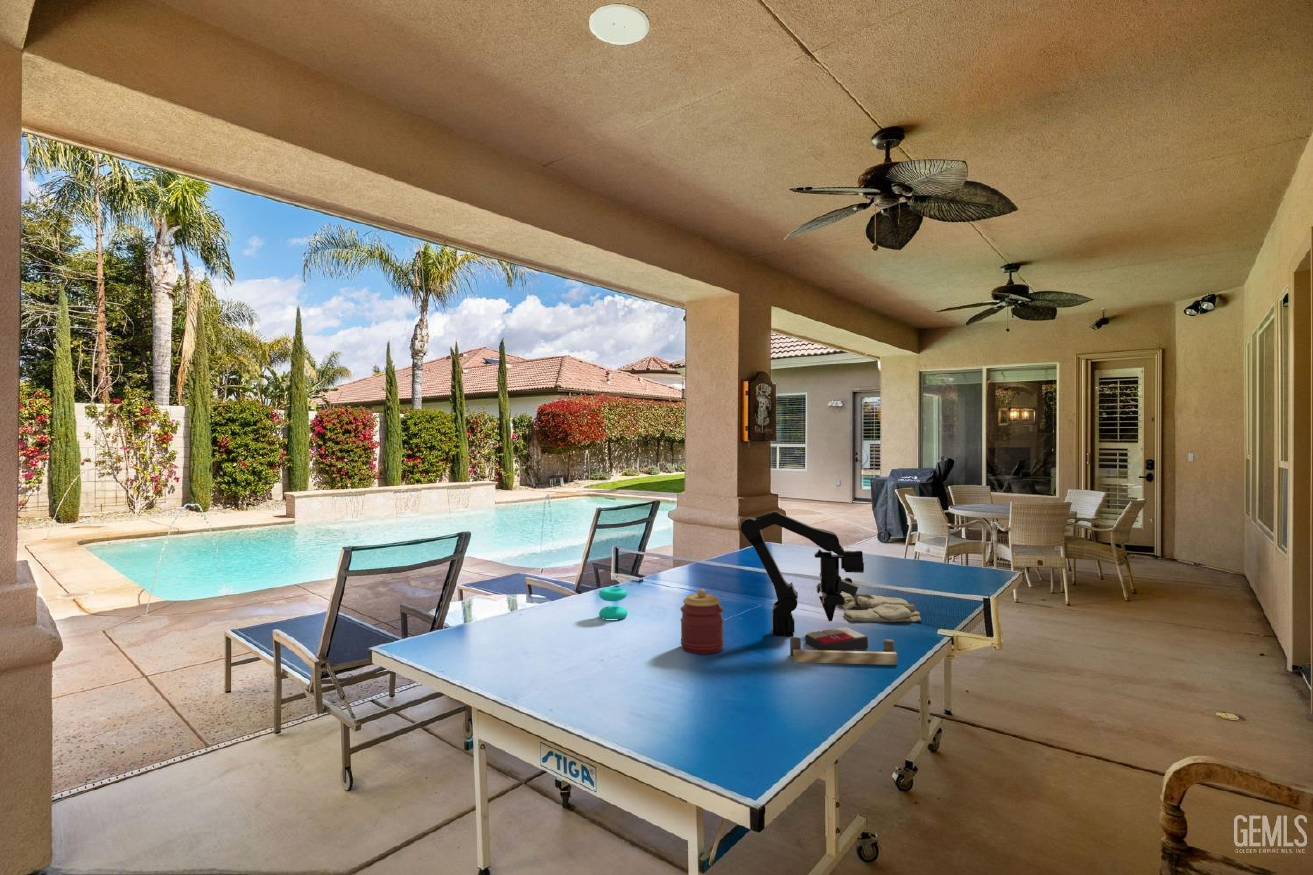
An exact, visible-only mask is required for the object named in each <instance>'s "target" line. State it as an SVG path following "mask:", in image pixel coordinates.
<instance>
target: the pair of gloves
mask: <svg viewBox="0 0 1313 875" xmlns="http://www.w3.org/2000/svg"><path fill="white" fill-rule="evenodd" d="M840 594H841V595H842V596H843V597H844V599H845V605H841V607H842V609H843V610H845V611H843V616H844V618H845V619H847V621H850V622H858V623H859V622H862V623H865V622H866V623H869V622H872V623H873V622H874V623H879V622H881V623H883V622H885V623H896V622H899V623H905V622H906V623H909V622H912V623H917V622H921V621H922V618H921V616H920V615H921V614H920V612H919V611H917V610H916V606H915V605H914V604H909V603H908V601H907V600H905V599H904V598H900V597H890V596H889V597H888V596H883V595H874V594H862V593H861V594H859V593H856V595H855V596H851V594H848V593H844V592H843V593H840ZM855 607H856V608H855ZM852 608H855V609H856V610H855V609H854V610H853V609H852ZM860 608H865V609H861V610H860ZM869 608H873V609H869ZM846 609H847V610H846ZM851 609H852V610H851ZM857 609H858V610H857Z"/></svg>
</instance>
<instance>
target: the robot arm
mask: <svg viewBox="0 0 1313 875" xmlns="http://www.w3.org/2000/svg"><path fill="white" fill-rule="evenodd" d="M775 525H777V526H778V527H781V528H783V529H785V530H787V531H789V532H792V533H794V534H797V535H799V536H801V537H803V538H806V539H807V540H809V541H811V542H812V543H813V544H815V545H816V546H818V547H820V548H821V549H822V550H824V551H822V550H821V549H820V548H819V549H818V550H817V552H814V555H813V556H814V558H816V559H819V558H820V560H819V561H820V563H819V564H820V573H819V578H820V582H819V583H818V584H817V585H816V594H820V593H821V596H820V595H819V596H818V598H819V600H820V603H821V605H822V608H823V610H824V613H825V615H826V618H827V621H828V622H833V619H834V616H835V611H836V607H837V606H842V605H845V599H844V597H843V596H842V595H841V594H840V593H842V592H843V593H844V594H847V595H849V594H851V596H855V595H856V594H858V593H857V592H858V589H859V586H858V585H857V584H856V583H853V579H852V578H850V577H845V578H844V579H843V578H842V577H841V576H840V567H841V570H843V571H844V573H853V574H854V573H856V574H857V573H859V574H863V573H864V572H865V561H864V555H863V550H845V549H844V547H842V546H841V544H840V540H839V536H838V535H837V534H836V533H835V532H833V531H832V530H827V529H823V528H817V527H814V526H810V525H808V524H806V523H804V522H801V521H800V520H797V519H795V518H792V517H790V516H788V515H785V514H782V513H781V512H779V511H778V510H772V511H771V512H769V513H765V514H762V515H759V516H756V517H753V516H748V517H746V518H744V520H743V521H742V523H741V525H740V531H741V533H742V534H743V535H744V537H745V538H746V540H747V541H748V542H749V543H750V545H752V547H753V548H754V550H755V552H756V554H757V556H758V558H759V560H760V561H761V563H762V565H763V568H764V569H765V571H766V572H767V575H768V577H769V580H770V581H771V583H772V585H773V588H774V591H775V595H776V598H777V600H776V601H775V602H774V603H773V604H772V605H773V606H772V613H771V622H772V623H771V626H772V628H771V634H772V636H779V637H780V636H781V637H784V636H785V637H786V636H789V637H795V636H794V633H795V629H796V628H795V618H794V617H793V613H792V612H793V611H795V610H796V609H797V607H798V598H799V593H798V592H797V590H796V589H795V586H794V584H793V582H790V583H788V582H787V581H786V579H785V578H784V575H782V572H781V571H780V570H781V569H780V568H779V567H778V565H777V563H776V561H775V559H774V557H773V554H772V552H771V551H770V549H769V547H768V544H766V541H765V537H764V534H763V530H764V529H766V528H769V527H771V526H775ZM832 552H833V553H835V554H833V553H832Z"/></svg>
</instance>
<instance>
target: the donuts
mask: <svg viewBox="0 0 1313 875" xmlns="http://www.w3.org/2000/svg"><path fill="white" fill-rule="evenodd" d="M598 592H599V593H598V596H599V598H600V599H602V600H603V601H605V602H620V601H623V600H624V599H625V598H627V595H628V591H627V590H626V589H625V588H624V587H618V586H617V587H614V586H612V587H604V588H601V589H600V590H599V591H598ZM598 616H599V617H600V619H602V618H604V619H621V620H623V619H622V618H624V619H625V618H626V617H627V616H628V611H627V609H626V608H625V607H623V606H620V605H607V606H604V607H602V608H601V609H600V610H599V612H598ZM604 619H603V620H604Z"/></svg>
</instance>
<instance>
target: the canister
mask: <svg viewBox="0 0 1313 875" xmlns="http://www.w3.org/2000/svg"><path fill="white" fill-rule="evenodd" d="M682 601H683V603H684V604H683V605H682V606H681V607H680V609H679V610H680V611H681V612H682V614H681V615H682V616H681V618H680V626H681V628H680V629H681V632H680V633H681V635H680V636H681V637H680V644H681V649H682V650H683V651H685V652H687V653H691V654H697V655H698V654H699V655H709V654H710V655H712V654H715V653H716V654H717V653H718V652H721V651H722V650H723V649H724V645H725V639H724V621H725V620H724V617H723V611H724V610H725V609H724V607H723V606H721V601H722V600H721V599H719V598H717V596H715V595H714V594H710V593H709V594H708V593H707V592H706V590H705V589H704V588H700V589H698V591H697V593H695V594H690V595H688V596H687V597H686V598H684V599H682Z"/></svg>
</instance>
